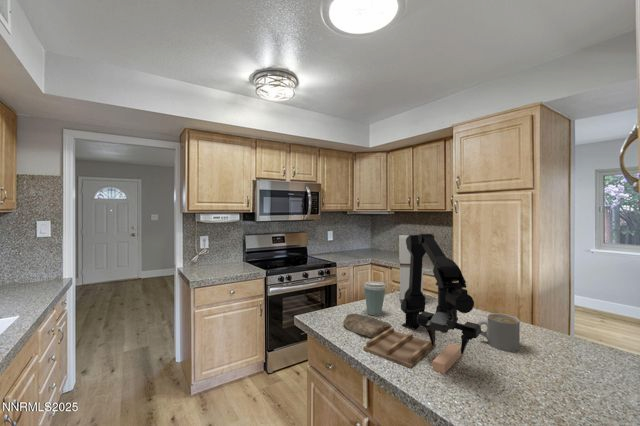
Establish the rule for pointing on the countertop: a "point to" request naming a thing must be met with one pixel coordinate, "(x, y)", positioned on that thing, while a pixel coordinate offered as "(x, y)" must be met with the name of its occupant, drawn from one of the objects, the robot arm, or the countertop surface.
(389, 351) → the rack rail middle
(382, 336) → the rack rail
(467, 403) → the countertop surface
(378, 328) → the brown rock
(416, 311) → the robot arm
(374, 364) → the countertop surface
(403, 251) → the white tall box
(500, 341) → the coffee mug
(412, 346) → the rack
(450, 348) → the clay strip
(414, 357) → the rack rail
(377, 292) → the disposable coffee cup
